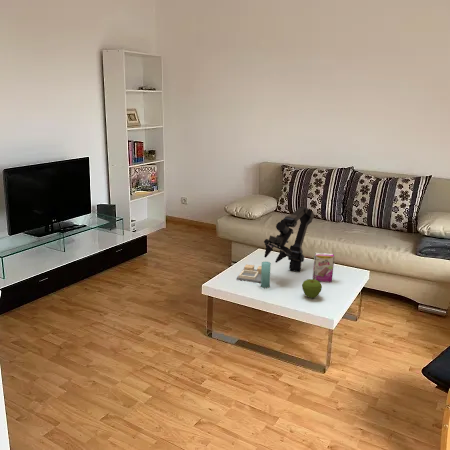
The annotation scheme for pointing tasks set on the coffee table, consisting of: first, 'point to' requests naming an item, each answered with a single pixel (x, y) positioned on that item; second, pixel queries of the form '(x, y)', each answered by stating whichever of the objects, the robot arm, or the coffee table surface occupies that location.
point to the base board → (250, 274)
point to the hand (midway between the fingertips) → (270, 259)
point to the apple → (311, 288)
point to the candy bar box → (323, 267)
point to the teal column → (265, 274)
